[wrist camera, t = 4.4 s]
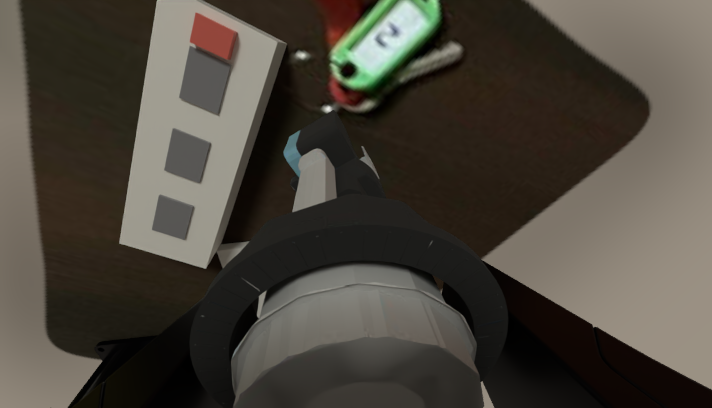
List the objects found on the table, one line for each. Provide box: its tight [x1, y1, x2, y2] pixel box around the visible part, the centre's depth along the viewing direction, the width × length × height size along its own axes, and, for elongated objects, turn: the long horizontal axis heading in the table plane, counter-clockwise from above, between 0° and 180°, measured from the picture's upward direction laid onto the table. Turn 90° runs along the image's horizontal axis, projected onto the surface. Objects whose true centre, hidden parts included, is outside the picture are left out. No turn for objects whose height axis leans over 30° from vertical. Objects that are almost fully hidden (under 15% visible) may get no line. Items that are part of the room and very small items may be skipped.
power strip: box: [119, 0, 287, 269], centre depth 17 cm, size 14×5×4 cm, turn 155°
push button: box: [189, 110, 508, 408], centre depth 9 cm, size 7×5×10 cm
